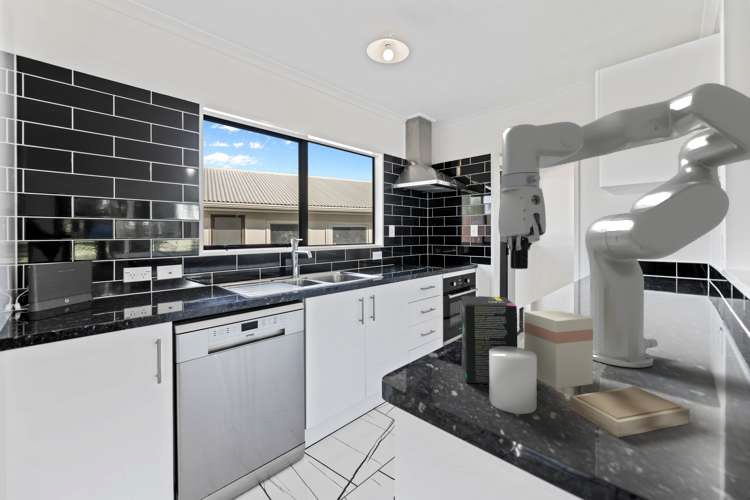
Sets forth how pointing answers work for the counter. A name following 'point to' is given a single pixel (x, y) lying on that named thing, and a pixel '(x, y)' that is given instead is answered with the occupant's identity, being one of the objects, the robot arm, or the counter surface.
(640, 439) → the counter surface
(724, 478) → the counter surface
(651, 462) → the counter surface
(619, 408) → the podium
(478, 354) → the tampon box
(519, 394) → the white pillar candle
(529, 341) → the cream carton
